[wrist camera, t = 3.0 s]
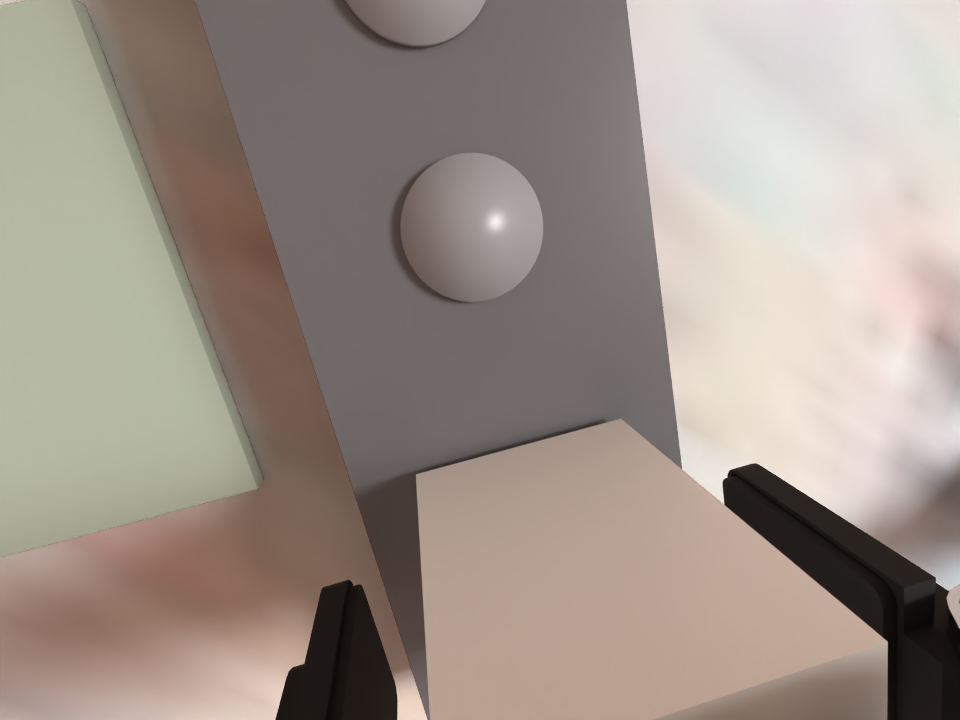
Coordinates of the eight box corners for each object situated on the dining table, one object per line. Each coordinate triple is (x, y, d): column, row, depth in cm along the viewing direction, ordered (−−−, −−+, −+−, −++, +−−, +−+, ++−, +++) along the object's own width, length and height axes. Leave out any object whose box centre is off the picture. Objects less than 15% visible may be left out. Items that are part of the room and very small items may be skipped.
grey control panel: (153, -241, 10) (16, -502, 7) (525, -290, 11) (586, -551, 7) (432, 664, 17) (441, 783, 13) (655, 595, 17) (722, 691, 14)
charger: (412, 422, 15) (434, 792, 5) (574, 380, 15) (888, 641, 5) (452, 564, 16) (529, 1074, 6) (599, 521, 16) (885, 935, 7)
